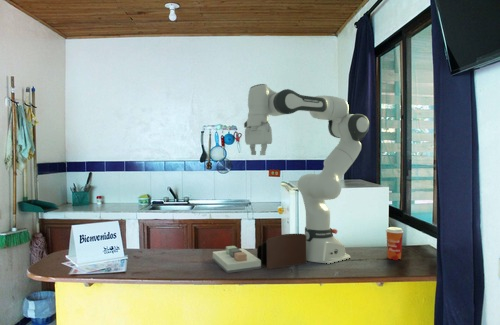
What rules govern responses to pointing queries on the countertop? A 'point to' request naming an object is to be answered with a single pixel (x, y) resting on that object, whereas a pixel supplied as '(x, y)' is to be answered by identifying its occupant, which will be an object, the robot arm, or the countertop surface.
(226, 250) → the sage key
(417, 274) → the countertop surface
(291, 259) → the letter holder
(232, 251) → the charcoal key
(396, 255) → the paper cup
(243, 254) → the terracotta key
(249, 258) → the cream key base
